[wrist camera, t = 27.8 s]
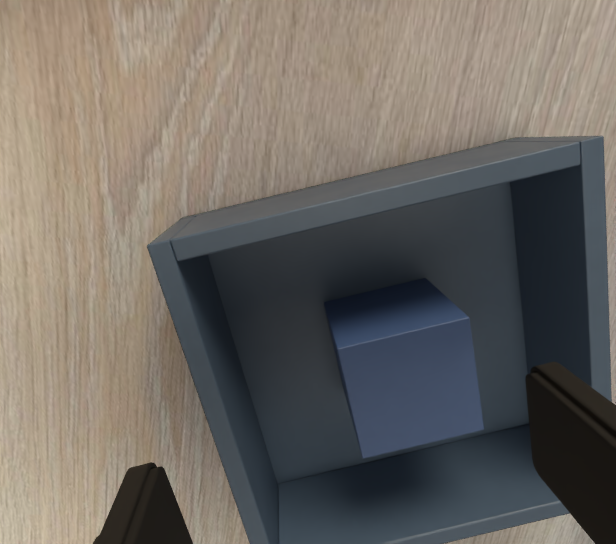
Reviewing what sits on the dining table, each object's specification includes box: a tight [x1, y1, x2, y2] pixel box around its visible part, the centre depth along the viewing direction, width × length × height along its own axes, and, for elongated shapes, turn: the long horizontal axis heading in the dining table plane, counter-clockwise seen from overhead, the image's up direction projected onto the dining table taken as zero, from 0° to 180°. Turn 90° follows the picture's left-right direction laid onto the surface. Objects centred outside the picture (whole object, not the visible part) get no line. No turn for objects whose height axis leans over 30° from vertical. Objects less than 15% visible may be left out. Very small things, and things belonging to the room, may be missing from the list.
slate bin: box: [147, 136, 612, 544], centre depth 20 cm, size 16×16×6 cm
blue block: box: [324, 278, 484, 459], centre depth 19 cm, size 5×5×5 cm
